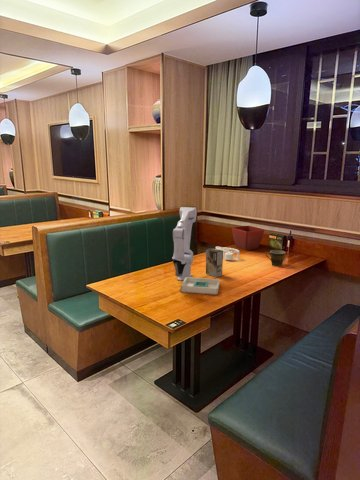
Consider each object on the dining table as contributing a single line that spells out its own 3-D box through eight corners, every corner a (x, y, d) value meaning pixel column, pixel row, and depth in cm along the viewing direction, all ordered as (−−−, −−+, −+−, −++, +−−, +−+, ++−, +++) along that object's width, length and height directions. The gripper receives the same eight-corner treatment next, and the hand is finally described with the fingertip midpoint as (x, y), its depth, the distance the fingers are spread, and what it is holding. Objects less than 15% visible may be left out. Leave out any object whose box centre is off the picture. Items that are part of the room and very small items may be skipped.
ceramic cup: (282, 263, 238) (283, 250, 236) (285, 268, 228) (286, 254, 226) (263, 263, 239) (264, 249, 237) (265, 267, 230) (266, 253, 227)
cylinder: (174, 274, 194) (174, 262, 192) (181, 273, 195) (181, 262, 193) (176, 276, 190) (176, 265, 188) (183, 276, 191) (183, 264, 190)
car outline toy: (211, 256, 255) (211, 247, 253) (221, 254, 262) (221, 245, 260) (230, 263, 240) (230, 253, 238) (241, 260, 246) (241, 250, 245)
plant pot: (263, 249, 277) (265, 229, 273) (246, 252, 267) (247, 231, 263) (247, 244, 292) (248, 225, 288) (230, 247, 282) (231, 227, 279)
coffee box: (222, 274, 215) (223, 250, 211) (216, 277, 210) (217, 252, 206) (211, 271, 221) (212, 247, 217) (205, 274, 216) (205, 249, 213)
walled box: (185, 282, 201) (185, 276, 200) (219, 285, 197) (219, 279, 197) (180, 291, 187) (180, 285, 186) (217, 294, 183) (217, 288, 182)
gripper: (168, 246, 194) (168, 269, 197) (176, 253, 181) (176, 277, 184) (179, 245, 197) (179, 268, 200) (189, 252, 183) (188, 276, 187)
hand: (179, 272), depth 192 cm, fingers closed on cylinder, 4 cm apart
